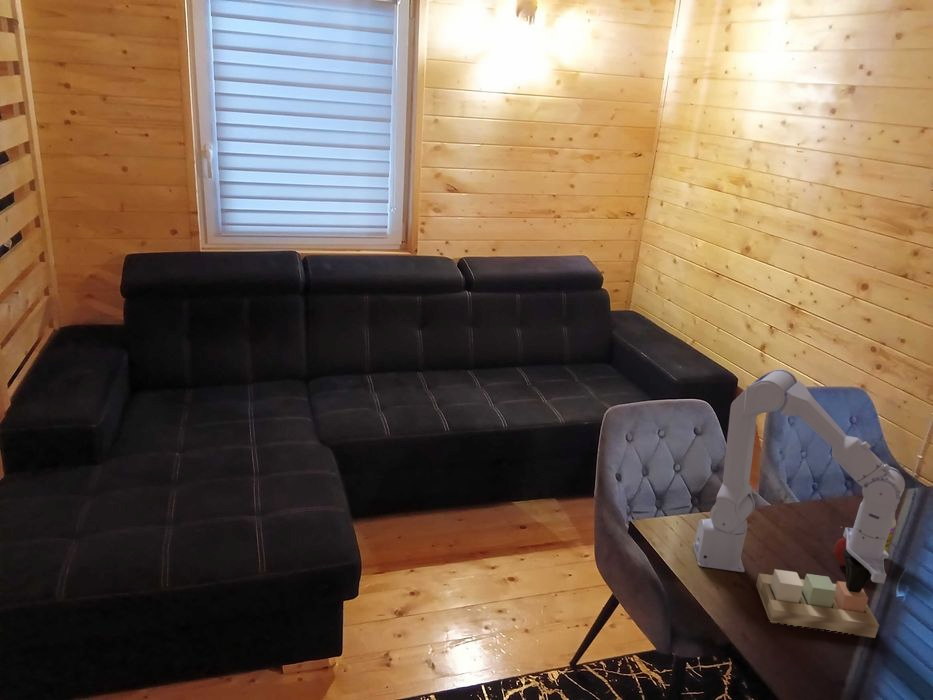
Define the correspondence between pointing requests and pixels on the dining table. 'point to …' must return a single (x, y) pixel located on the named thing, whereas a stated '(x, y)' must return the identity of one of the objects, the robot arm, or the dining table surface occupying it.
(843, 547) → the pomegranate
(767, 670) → the dining table surface
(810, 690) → the dining table surface
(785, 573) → the cream key
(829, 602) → the sage key
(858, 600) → the salmon pink cube
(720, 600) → the dining table surface
